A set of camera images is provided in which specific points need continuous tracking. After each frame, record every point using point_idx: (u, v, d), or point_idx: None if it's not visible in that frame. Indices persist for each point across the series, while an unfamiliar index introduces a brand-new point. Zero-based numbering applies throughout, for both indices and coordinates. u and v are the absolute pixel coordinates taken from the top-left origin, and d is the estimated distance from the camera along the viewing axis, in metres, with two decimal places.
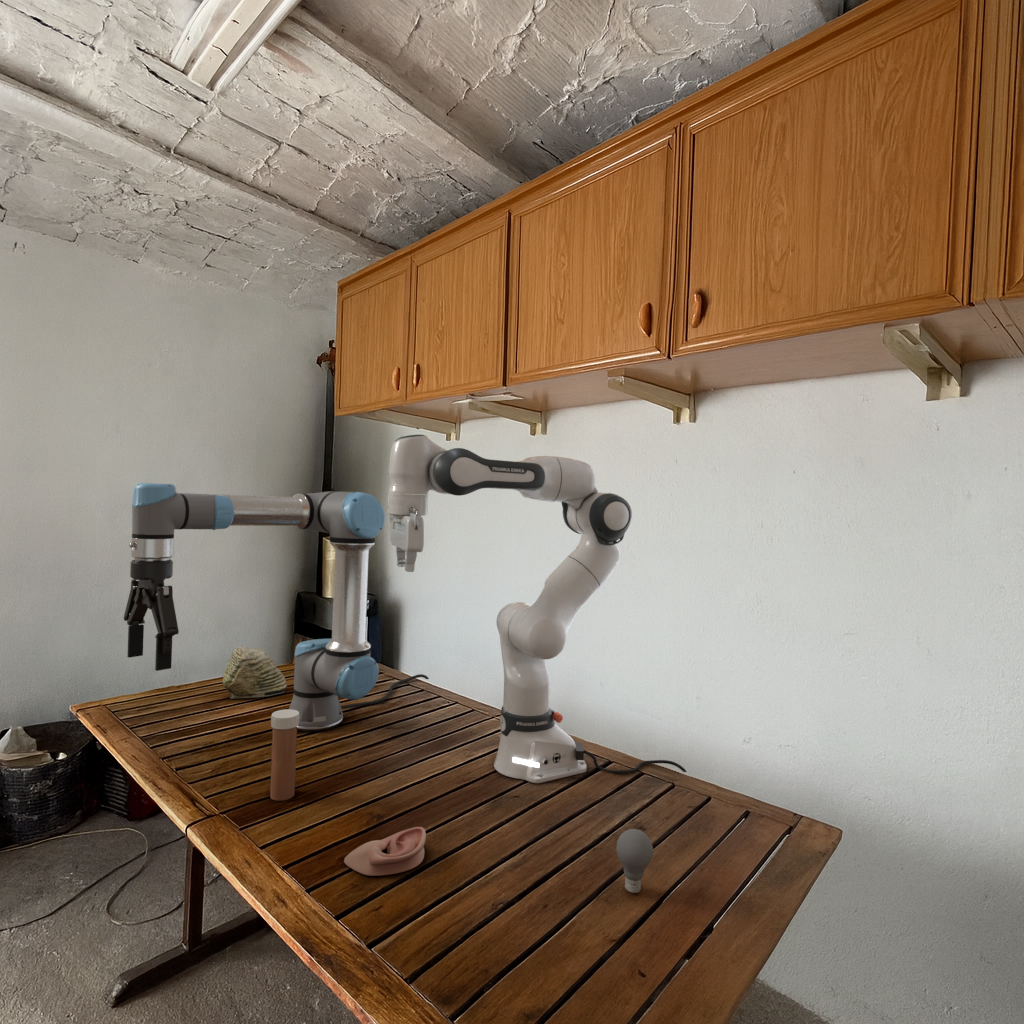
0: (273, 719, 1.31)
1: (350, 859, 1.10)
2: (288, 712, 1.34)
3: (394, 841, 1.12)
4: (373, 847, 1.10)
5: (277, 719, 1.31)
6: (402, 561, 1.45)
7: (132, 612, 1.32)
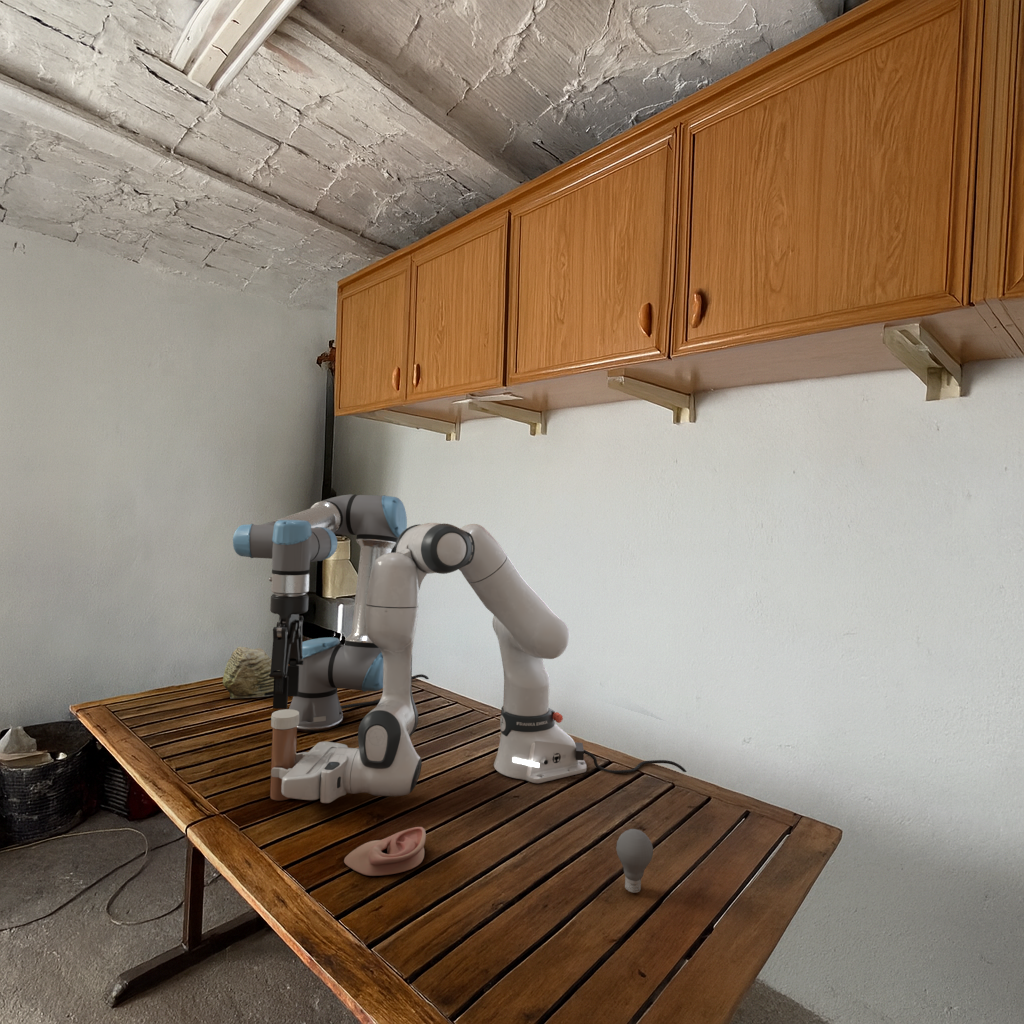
0: (273, 719, 1.31)
1: (350, 859, 1.10)
2: (288, 712, 1.34)
3: (394, 841, 1.12)
4: (373, 847, 1.10)
5: (277, 719, 1.31)
6: None
7: None
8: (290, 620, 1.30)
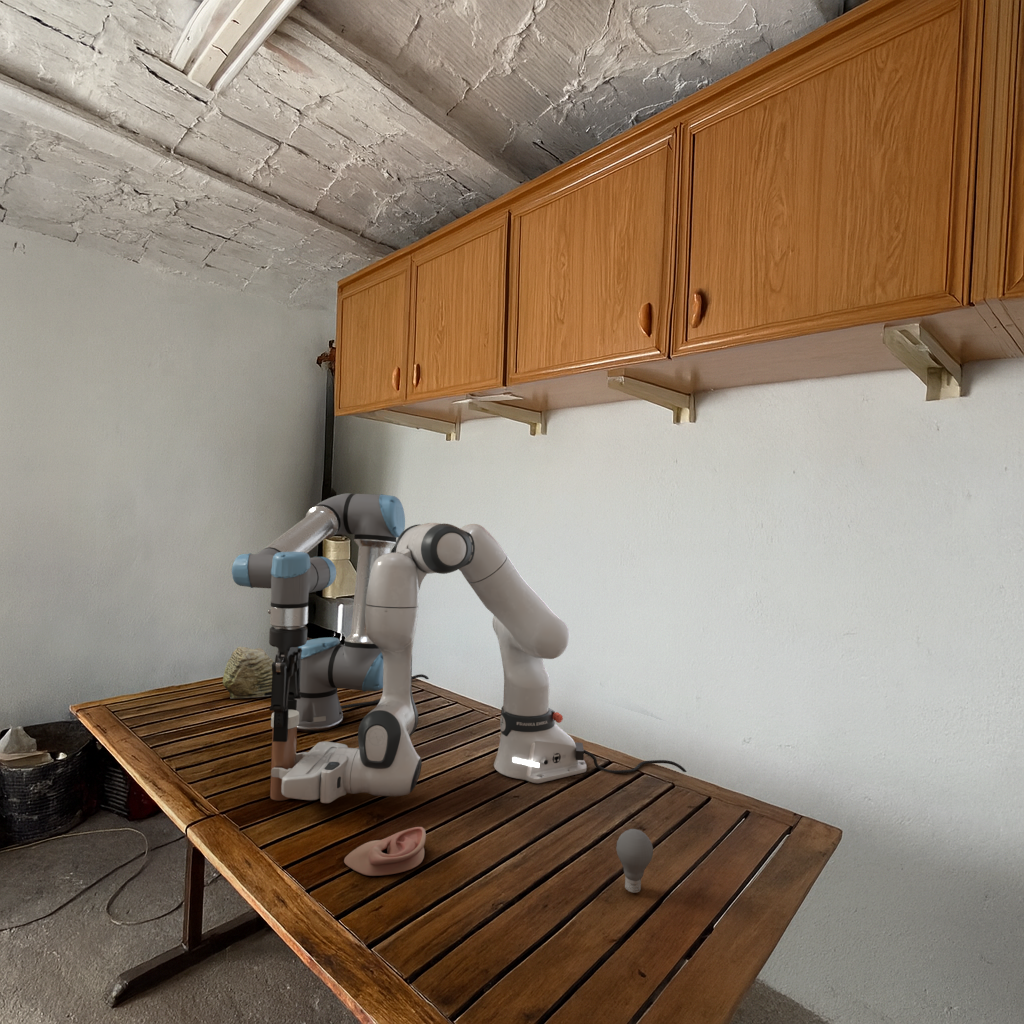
0: (273, 719, 1.31)
1: (350, 859, 1.10)
2: (288, 712, 1.34)
3: (394, 841, 1.12)
4: (373, 847, 1.10)
5: None
6: None
7: None
8: (289, 653, 1.30)
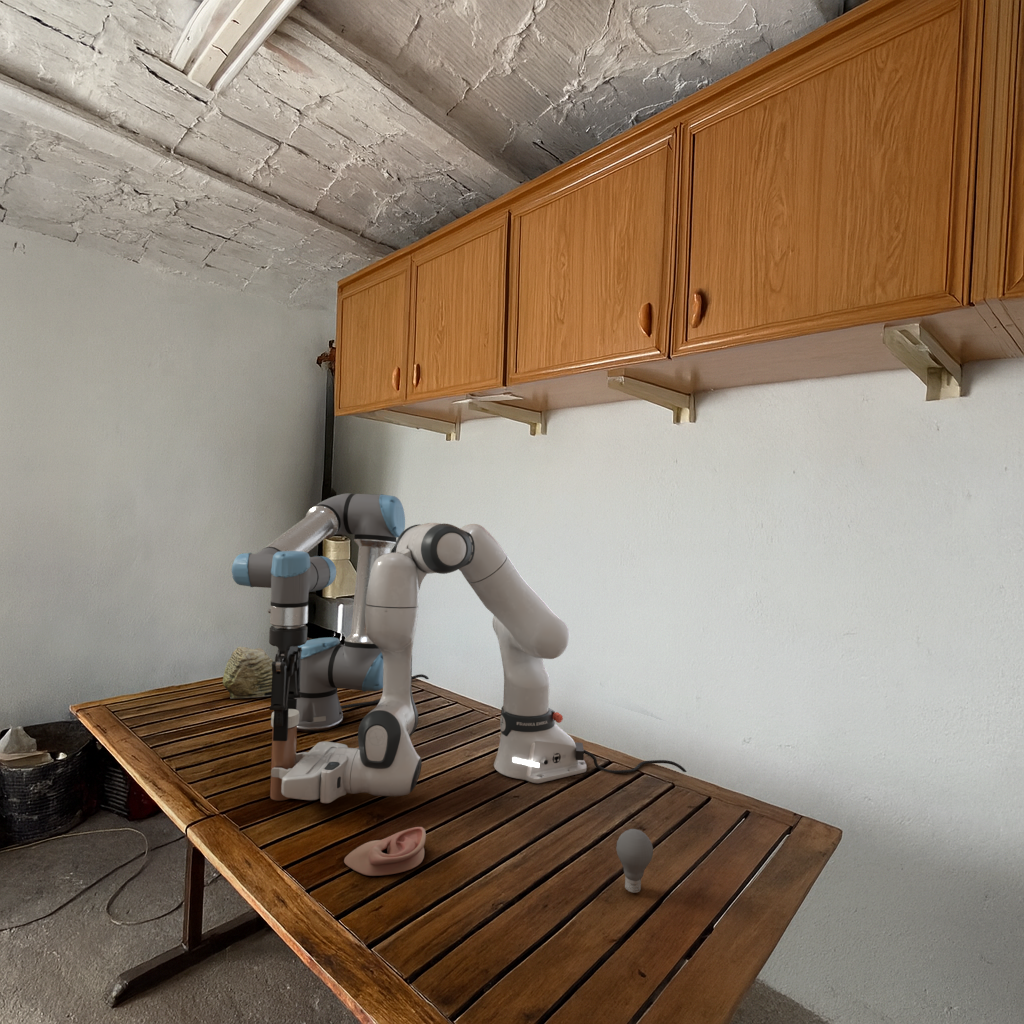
0: (293, 718, 1.32)
1: (350, 859, 1.10)
2: None
3: (394, 841, 1.12)
4: (373, 847, 1.10)
5: (296, 716, 1.33)
6: None
7: None
8: (289, 652, 1.30)
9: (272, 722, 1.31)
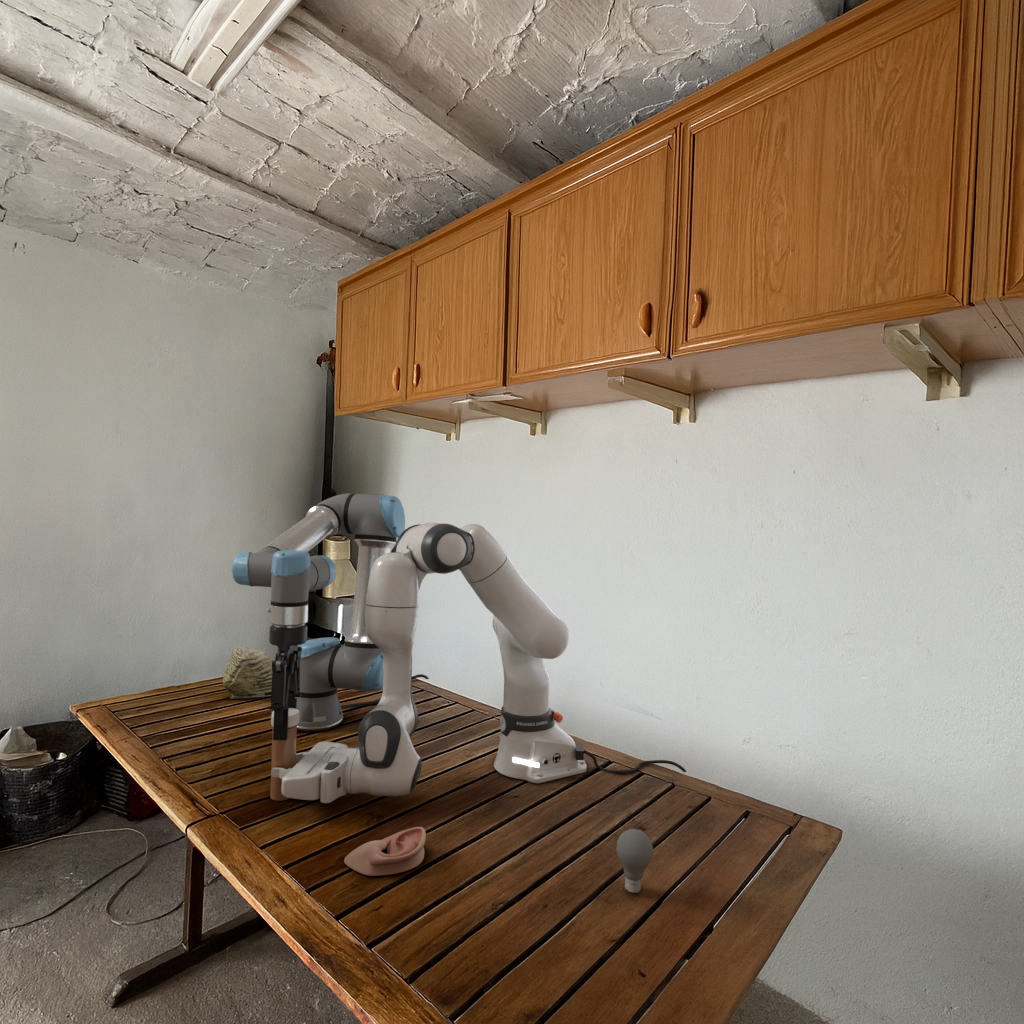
0: None
1: (350, 859, 1.10)
2: None
3: (394, 841, 1.12)
4: (373, 847, 1.10)
5: None
6: None
7: None
8: (289, 651, 1.30)
9: (291, 722, 1.32)
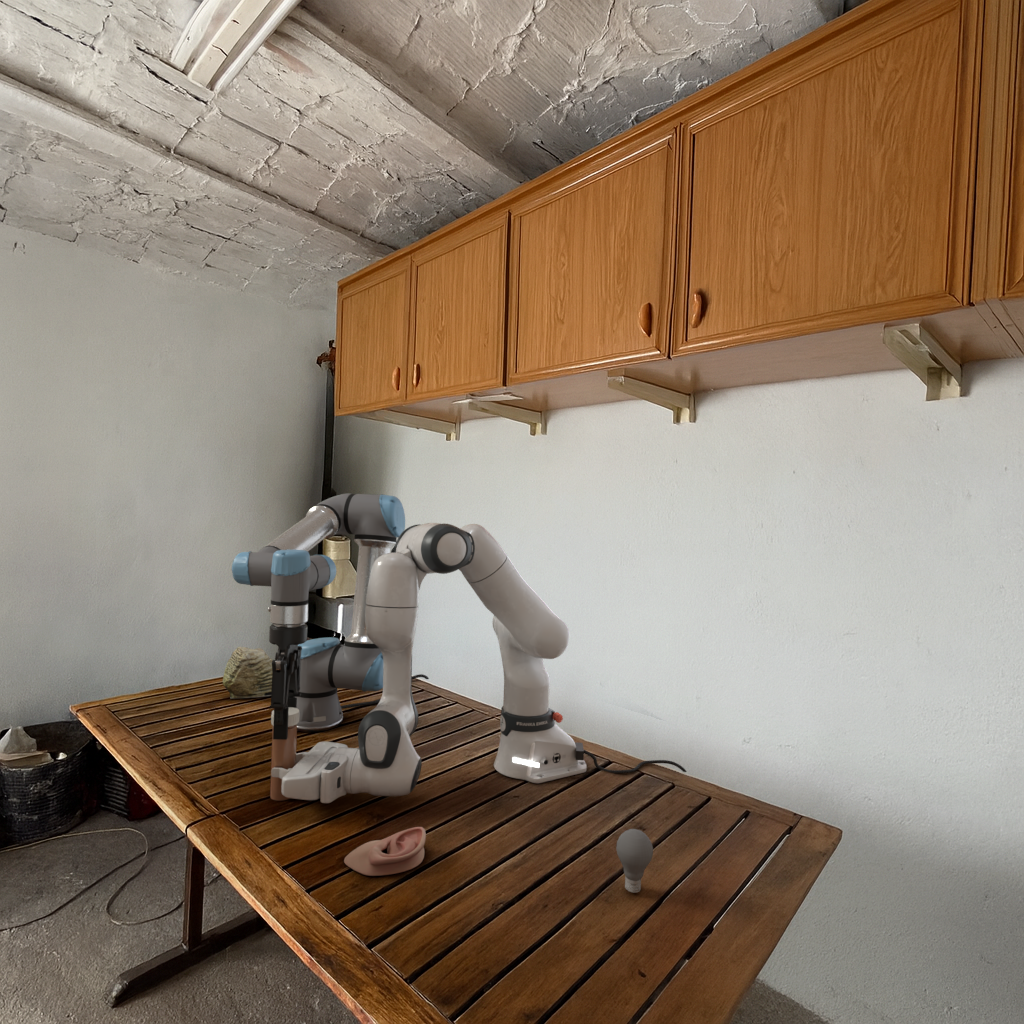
0: None
1: (350, 859, 1.10)
2: (289, 711, 1.33)
3: (394, 841, 1.12)
4: (373, 847, 1.10)
5: None
6: None
7: None
8: (289, 651, 1.30)
9: None
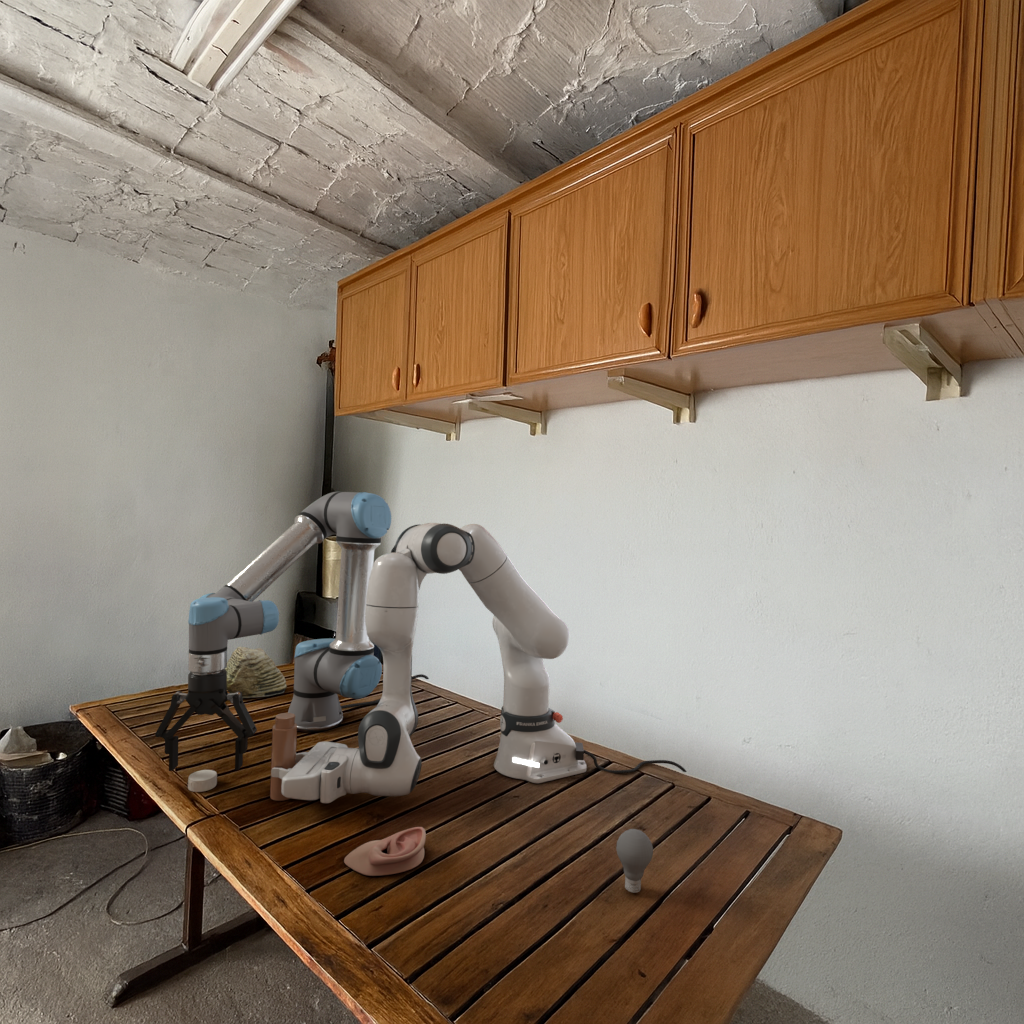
0: (190, 782, 1.34)
1: (350, 859, 1.10)
2: (205, 773, 1.37)
3: (394, 841, 1.12)
4: (373, 847, 1.10)
5: (194, 782, 1.34)
6: None
7: (176, 726, 1.35)
8: None
9: None
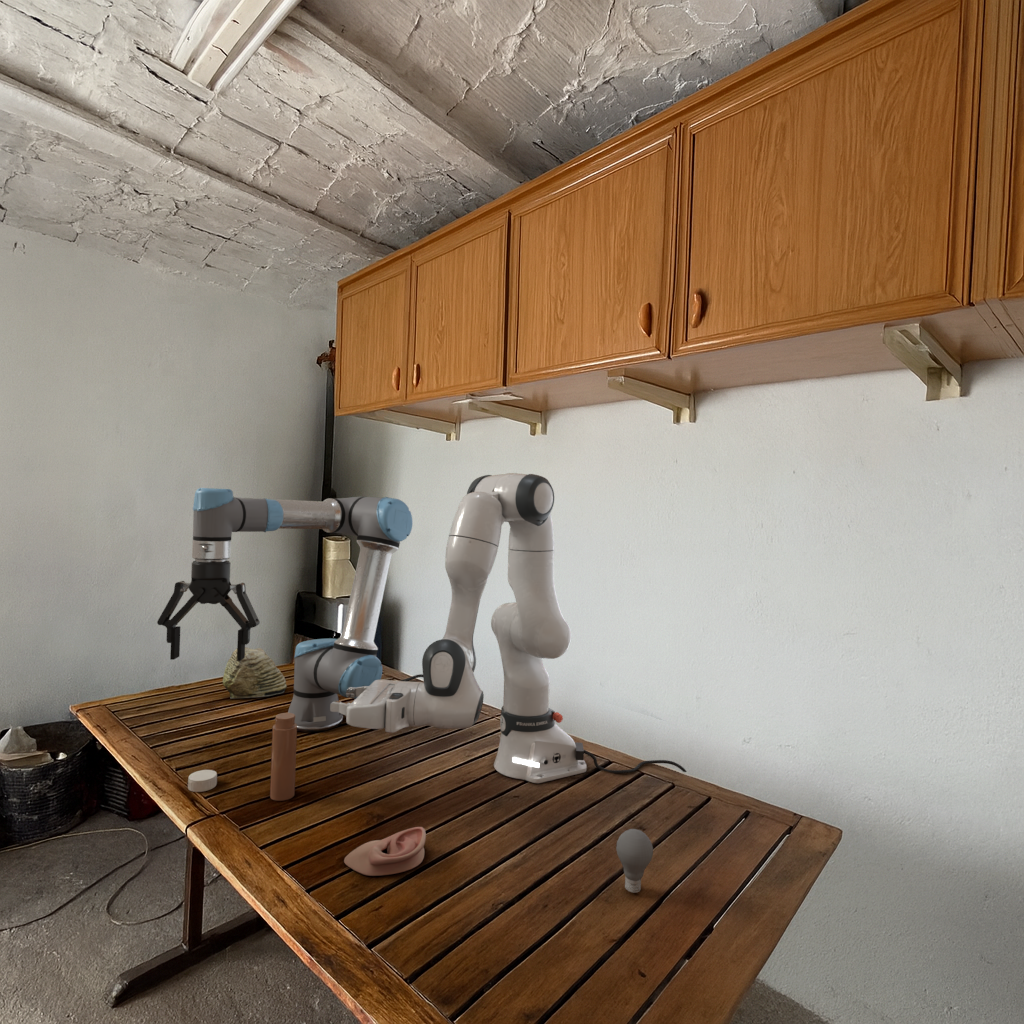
0: (190, 782, 1.34)
1: (350, 859, 1.10)
2: (205, 773, 1.37)
3: (394, 841, 1.12)
4: (373, 847, 1.10)
5: (194, 782, 1.34)
6: None
7: (179, 614, 1.34)
8: None
9: None
